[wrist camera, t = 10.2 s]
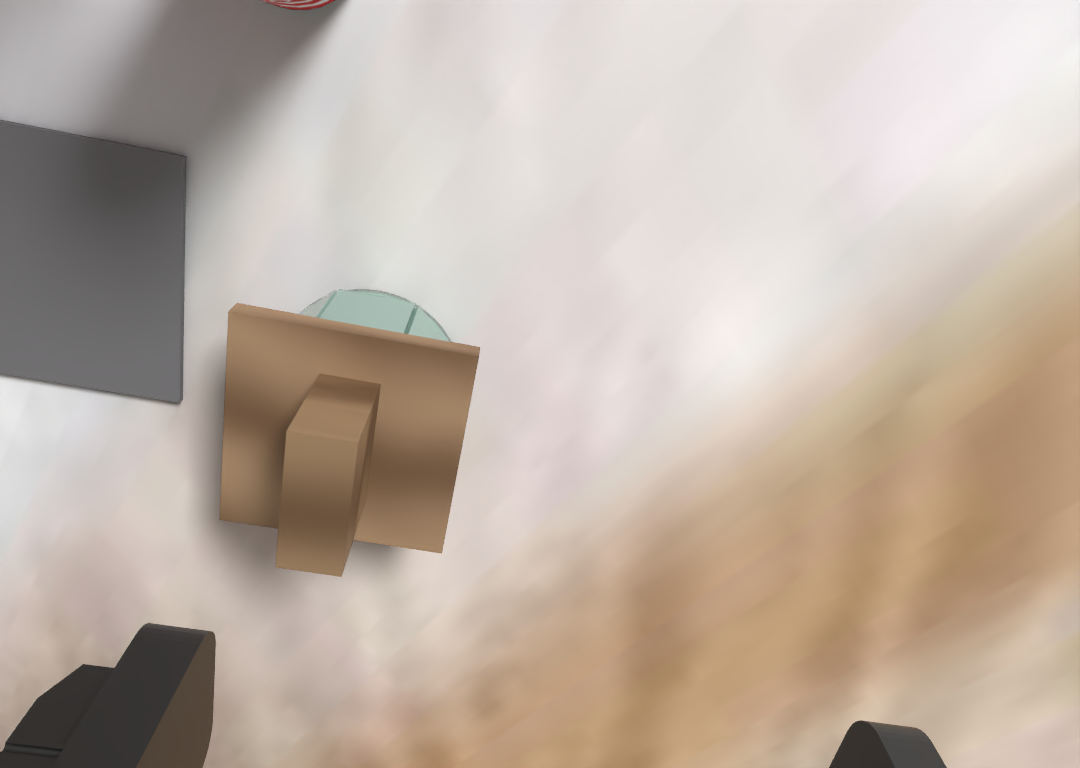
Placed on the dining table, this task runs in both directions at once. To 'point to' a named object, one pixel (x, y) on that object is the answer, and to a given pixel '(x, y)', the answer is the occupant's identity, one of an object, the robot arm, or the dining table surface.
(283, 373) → the lid
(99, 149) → the mat
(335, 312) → the bowl
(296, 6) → the beverage can
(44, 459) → the dining table surface
